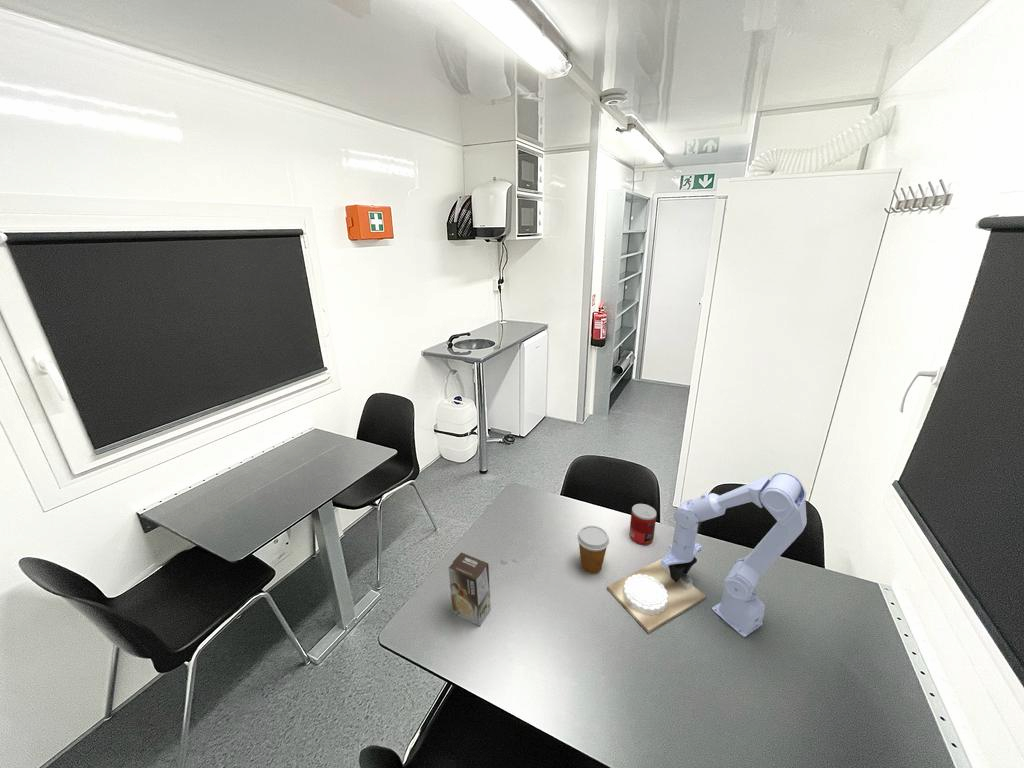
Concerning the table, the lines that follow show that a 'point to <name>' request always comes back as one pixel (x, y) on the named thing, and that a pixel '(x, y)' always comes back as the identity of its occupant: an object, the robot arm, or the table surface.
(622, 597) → the wooden cutting board
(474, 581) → the coffee box
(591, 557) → the disposable coffee cup
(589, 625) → the table surface
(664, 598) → the mooncake
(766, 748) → the table surface
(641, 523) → the canned food
